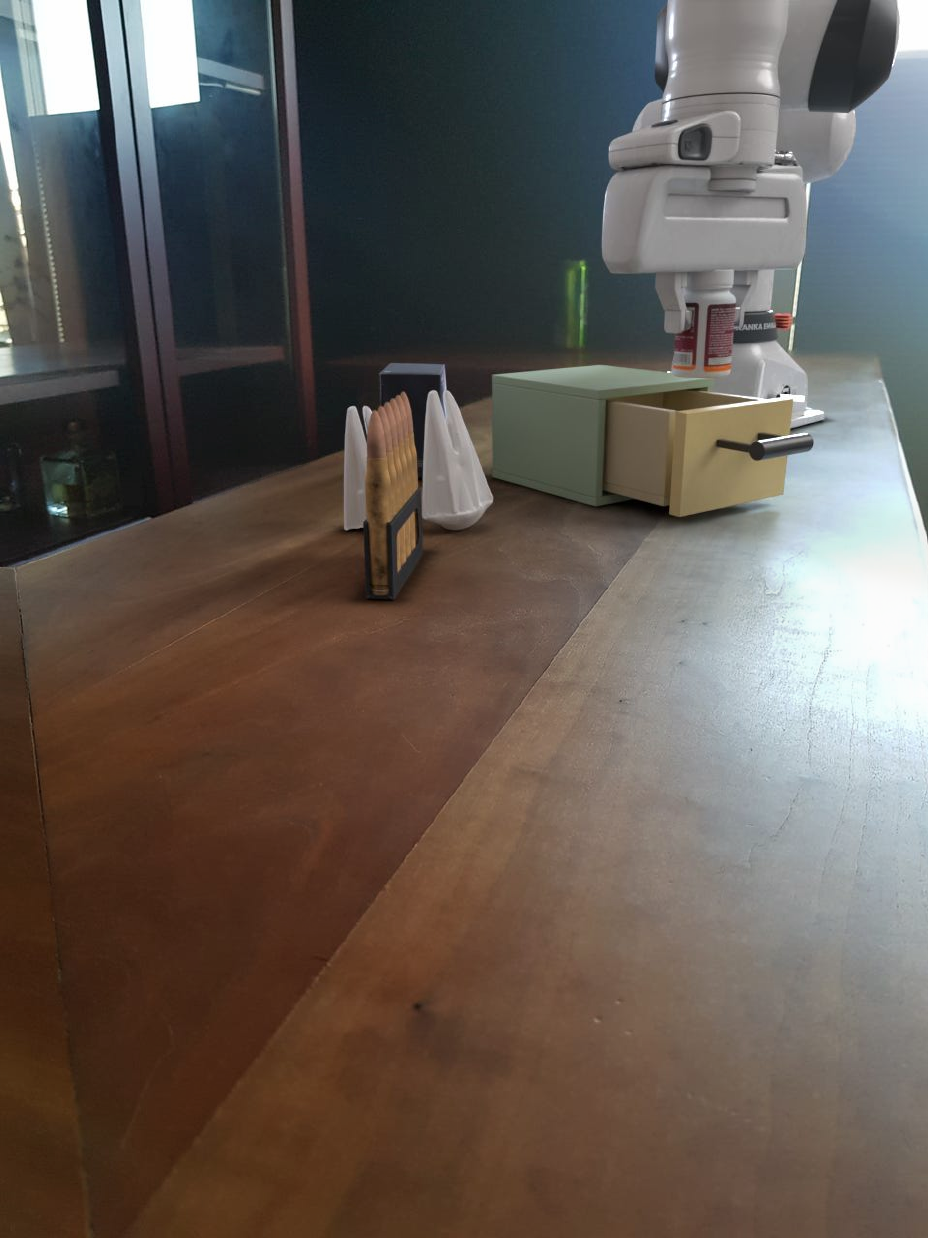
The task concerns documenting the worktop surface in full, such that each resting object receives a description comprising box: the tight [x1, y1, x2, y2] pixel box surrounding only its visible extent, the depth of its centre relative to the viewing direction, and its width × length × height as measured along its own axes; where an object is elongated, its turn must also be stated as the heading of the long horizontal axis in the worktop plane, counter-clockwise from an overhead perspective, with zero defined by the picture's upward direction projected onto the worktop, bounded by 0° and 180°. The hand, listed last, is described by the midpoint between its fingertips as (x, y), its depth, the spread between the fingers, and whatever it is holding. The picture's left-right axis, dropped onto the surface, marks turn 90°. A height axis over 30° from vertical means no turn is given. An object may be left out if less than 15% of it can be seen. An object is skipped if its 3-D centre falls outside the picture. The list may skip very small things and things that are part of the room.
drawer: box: [602, 389, 815, 518], centre depth 82 cm, size 20×13×8 cm, turn 34°
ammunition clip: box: [362, 392, 424, 601], centre depth 64 cm, size 11×2×12 cm, turn 172°
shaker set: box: [343, 389, 494, 531], centre depth 76 cm, size 12×4×11 cm, turn 81°
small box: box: [378, 362, 447, 479], centre depth 98 cm, size 11×6×10 cm, turn 179°
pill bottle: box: [673, 269, 736, 378], centre depth 78 cm, size 5×5×8 cm
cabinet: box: [491, 364, 714, 507], centre depth 91 cm, size 16×14×10 cm
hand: (703, 331), depth 78 cm, fingers closed on pill bottle, 5 cm apart
